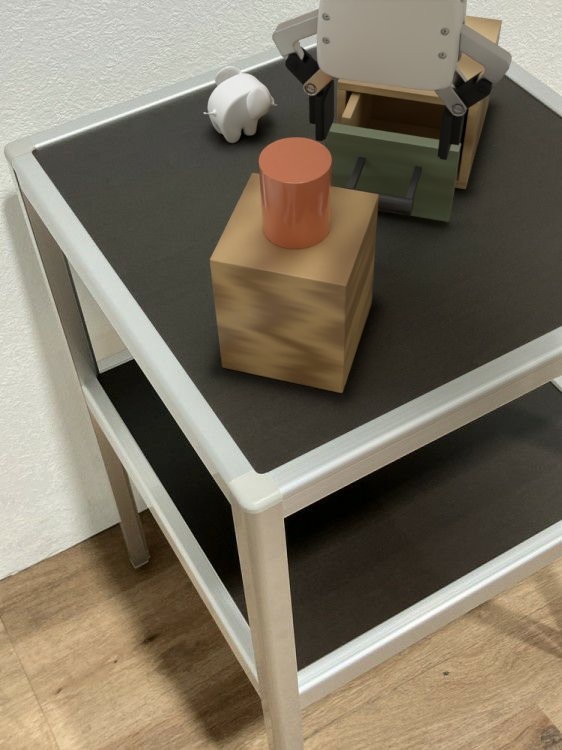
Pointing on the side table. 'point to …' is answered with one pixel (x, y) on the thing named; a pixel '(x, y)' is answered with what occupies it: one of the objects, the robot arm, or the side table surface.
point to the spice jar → (295, 192)
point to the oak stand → (295, 292)
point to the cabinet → (475, 112)
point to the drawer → (395, 155)
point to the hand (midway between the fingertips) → (384, 139)
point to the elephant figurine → (237, 103)
